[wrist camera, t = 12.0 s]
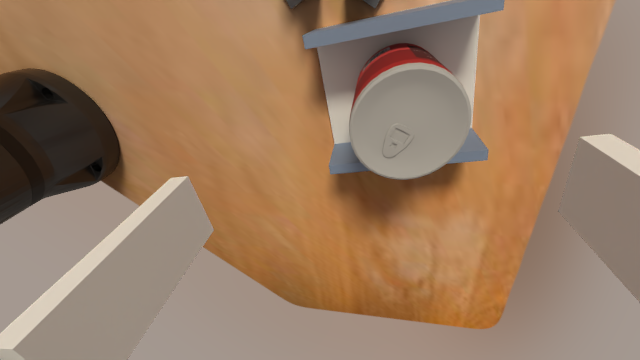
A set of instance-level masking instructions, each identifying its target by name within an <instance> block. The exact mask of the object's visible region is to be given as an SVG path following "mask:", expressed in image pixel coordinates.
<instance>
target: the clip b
mask: <svg viewBox="0 0 640 360" xmlns="http://www.w3.org/2000/svg"><path fill="white" fill-rule="evenodd" d="M363 1H365V2H366V3H368V4H369V5H371V6H372V7H374V8H376V6H377V5H378V3H379V1H380V0H363Z"/></svg>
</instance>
